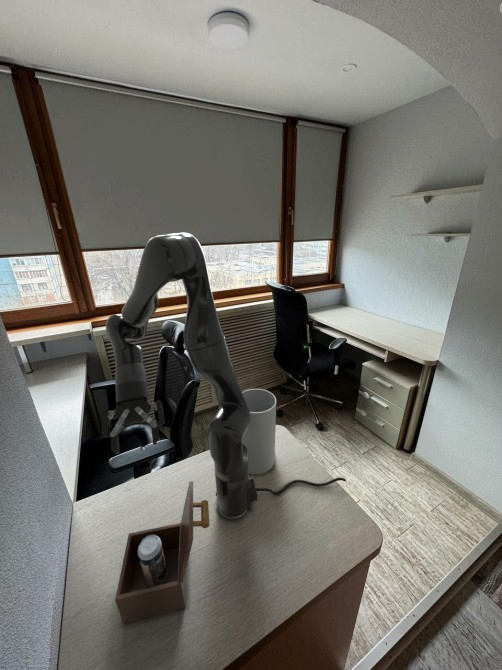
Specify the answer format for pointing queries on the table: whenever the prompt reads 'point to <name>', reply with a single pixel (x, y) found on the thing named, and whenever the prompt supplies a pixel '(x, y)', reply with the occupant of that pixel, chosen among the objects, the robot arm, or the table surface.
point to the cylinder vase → (260, 430)
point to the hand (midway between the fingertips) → (136, 448)
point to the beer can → (152, 561)
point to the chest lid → (190, 528)
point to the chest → (132, 588)
